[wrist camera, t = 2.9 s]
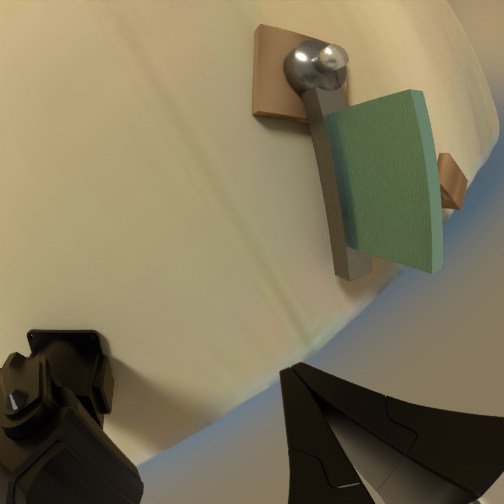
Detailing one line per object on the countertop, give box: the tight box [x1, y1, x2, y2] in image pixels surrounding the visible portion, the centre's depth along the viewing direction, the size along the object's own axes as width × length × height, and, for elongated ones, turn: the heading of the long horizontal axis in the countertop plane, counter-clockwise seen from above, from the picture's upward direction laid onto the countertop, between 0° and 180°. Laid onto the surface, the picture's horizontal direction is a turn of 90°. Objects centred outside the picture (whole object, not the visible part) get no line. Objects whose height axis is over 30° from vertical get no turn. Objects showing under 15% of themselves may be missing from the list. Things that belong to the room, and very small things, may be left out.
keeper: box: [437, 153, 468, 210], centre depth 24 cm, size 5×4×5 cm
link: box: [283, 40, 443, 281], centre depth 16 cm, size 19×4×10 cm, turn 13°
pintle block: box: [252, 24, 348, 124], centre depth 19 cm, size 8×8×1 cm
